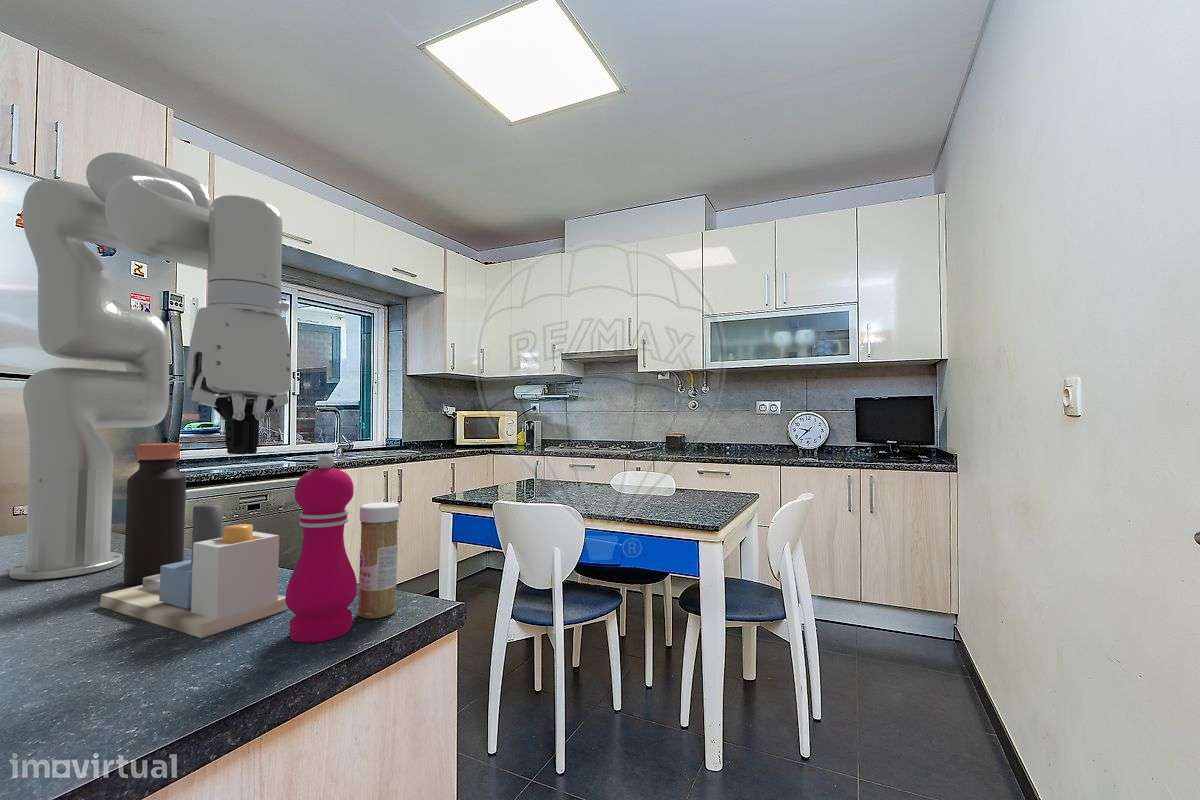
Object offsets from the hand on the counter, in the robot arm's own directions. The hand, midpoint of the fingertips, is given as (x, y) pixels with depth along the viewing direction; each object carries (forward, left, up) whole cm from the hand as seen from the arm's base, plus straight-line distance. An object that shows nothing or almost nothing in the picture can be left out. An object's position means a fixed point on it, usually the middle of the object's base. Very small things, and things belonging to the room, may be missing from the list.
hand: (242, 453), depth 65 cm
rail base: (-9, 0, -20) cm, 22 cm away
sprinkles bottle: (+13, +9, -20) cm, 26 cm away
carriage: (-7, 0, -18) cm, 19 cm away
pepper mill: (+12, +2, -20) cm, 24 cm away
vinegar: (-27, +4, -20) cm, 34 cm away
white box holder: (0, 0, -18) cm, 18 cm away
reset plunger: (0, 0, -13) cm, 13 cm away
